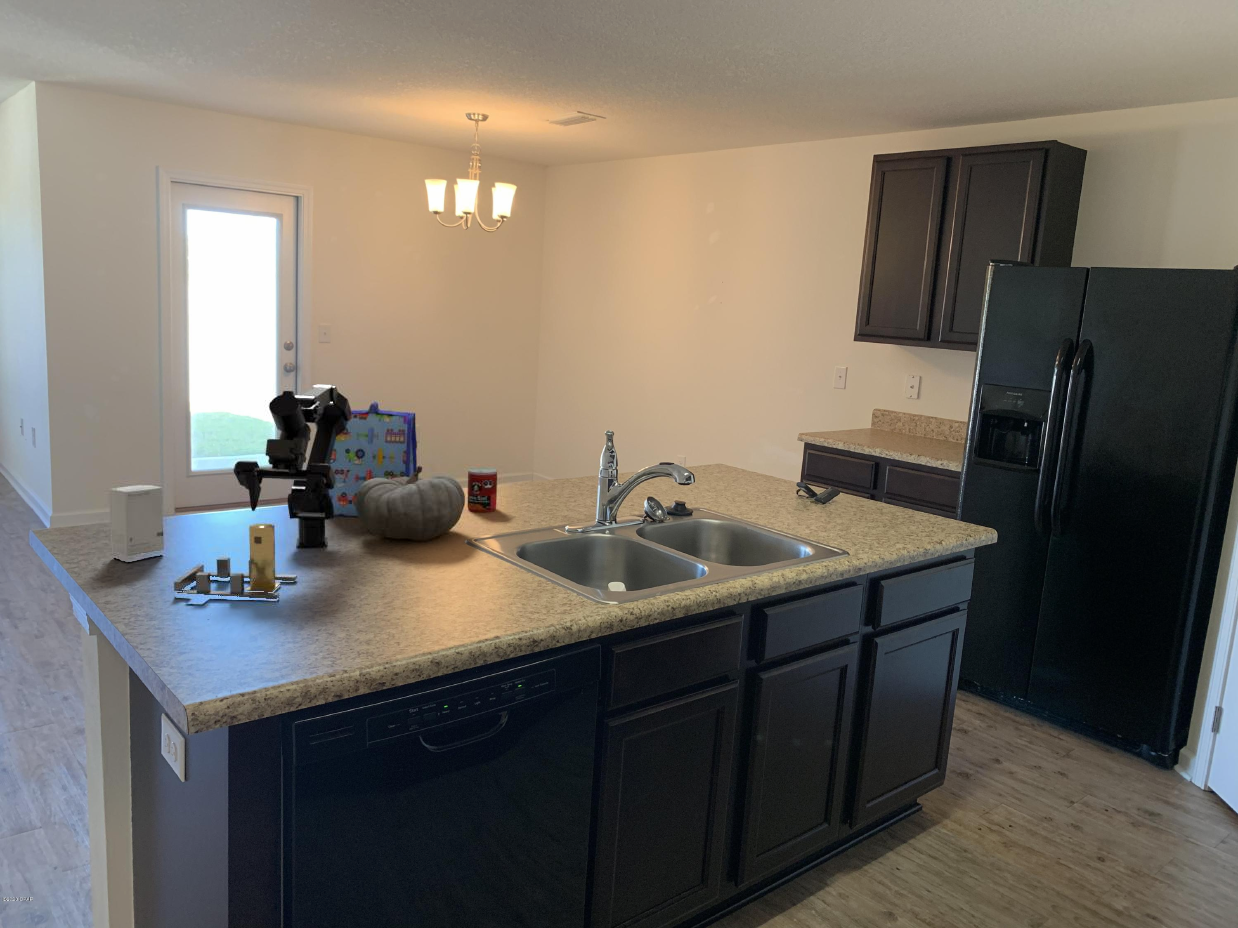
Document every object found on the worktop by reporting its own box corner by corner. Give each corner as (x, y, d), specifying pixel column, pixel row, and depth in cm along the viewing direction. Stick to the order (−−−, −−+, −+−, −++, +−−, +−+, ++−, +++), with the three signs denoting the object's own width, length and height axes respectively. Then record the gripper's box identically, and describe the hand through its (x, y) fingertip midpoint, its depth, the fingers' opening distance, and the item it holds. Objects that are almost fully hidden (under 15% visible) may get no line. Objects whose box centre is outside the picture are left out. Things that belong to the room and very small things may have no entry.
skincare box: (127, 564, 180) (124, 492, 178) (110, 558, 183) (106, 488, 181) (166, 555, 188) (163, 486, 185) (148, 550, 191) (145, 482, 188)
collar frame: (200, 577, 174) (199, 555, 173) (297, 580, 175) (296, 558, 175) (165, 604, 159) (164, 580, 158) (271, 607, 160) (270, 583, 159)
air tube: (254, 585, 171) (252, 522, 169) (280, 586, 172) (279, 523, 169) (245, 594, 166) (243, 529, 164) (272, 594, 167) (271, 530, 165)
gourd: (457, 541, 199) (447, 464, 198) (347, 554, 200) (336, 478, 199) (476, 526, 224) (467, 457, 223) (378, 537, 225) (368, 469, 223)
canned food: (462, 510, 240) (463, 470, 238) (475, 505, 247) (476, 466, 245) (488, 514, 238) (489, 473, 236) (500, 508, 245) (501, 468, 243)
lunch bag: (417, 507, 241) (419, 401, 236) (407, 519, 228) (408, 407, 222) (336, 504, 240) (336, 397, 235) (321, 516, 227) (320, 403, 222)
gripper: (235, 420, 177) (215, 486, 168) (331, 424, 178) (317, 490, 169) (250, 453, 186) (232, 517, 177) (341, 456, 187) (328, 520, 178)
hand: (276, 510), depth 175 cm, fingers open, 9 cm apart
